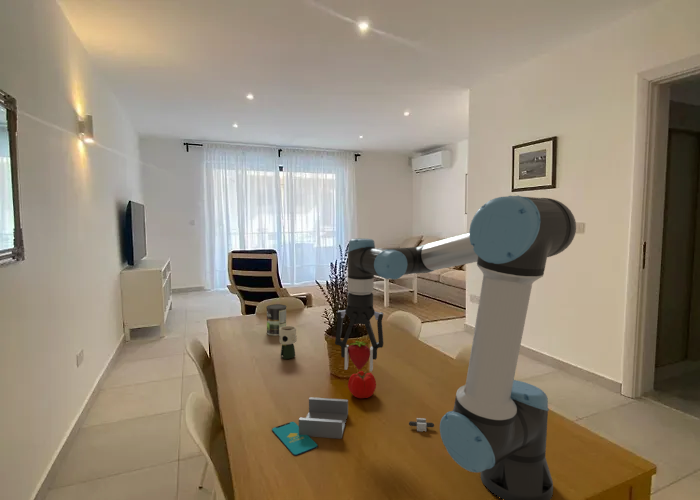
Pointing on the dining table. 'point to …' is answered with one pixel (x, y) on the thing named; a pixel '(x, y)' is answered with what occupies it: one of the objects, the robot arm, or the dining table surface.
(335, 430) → the end holder
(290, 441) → the smartphone
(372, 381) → the tomato
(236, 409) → the dining table surface
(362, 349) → the strawberry
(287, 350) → the character mug
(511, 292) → the robot arm
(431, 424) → the block with rod
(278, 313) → the coffee can
